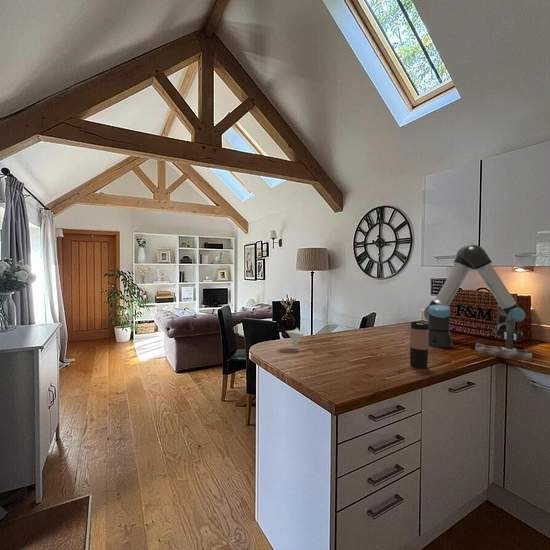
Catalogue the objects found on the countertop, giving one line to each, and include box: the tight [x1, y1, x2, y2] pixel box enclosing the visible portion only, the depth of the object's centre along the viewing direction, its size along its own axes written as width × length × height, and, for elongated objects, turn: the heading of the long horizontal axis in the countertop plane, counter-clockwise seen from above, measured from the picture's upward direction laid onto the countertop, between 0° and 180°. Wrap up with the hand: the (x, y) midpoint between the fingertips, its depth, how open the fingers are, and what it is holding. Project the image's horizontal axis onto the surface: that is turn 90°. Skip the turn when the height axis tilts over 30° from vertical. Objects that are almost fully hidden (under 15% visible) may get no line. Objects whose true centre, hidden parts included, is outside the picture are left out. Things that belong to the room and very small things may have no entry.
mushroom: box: [285, 327, 305, 350], centre depth 169 cm, size 10×11×12 cm
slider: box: [501, 318, 517, 352], centre depth 164 cm, size 6×5×19 cm
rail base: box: [474, 342, 533, 362], centre depth 166 cm, size 24×12×4 cm, turn 57°
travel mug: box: [409, 321, 429, 369], centre depth 144 cm, size 8×8×20 cm
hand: (510, 337), depth 160 cm, fingers closed on slider, 3 cm apart
